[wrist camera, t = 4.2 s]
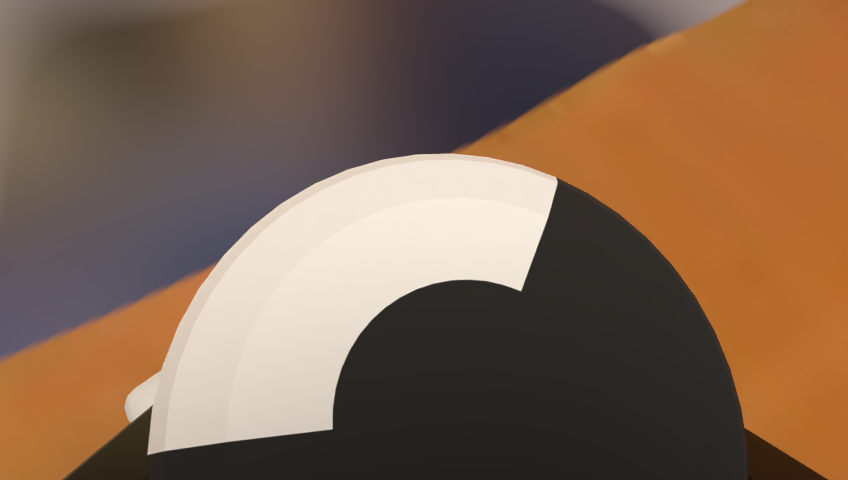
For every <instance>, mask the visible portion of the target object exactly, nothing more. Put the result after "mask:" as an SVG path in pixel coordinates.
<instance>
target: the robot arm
mask: <svg viewBox="0 0 848 480" xmlns="http://www.w3.org/2000/svg"><path fill="white" fill-rule="evenodd" d="M152 408H153V405H152V406H151V407H149V408H148V409H147V410H146V411H145V412H143V413H142V414H141V415H140V416H139V417H137V418H136V419H135V420H134V421H133V422H131V423H130V424H129V425H128V426H126V427H125V428H124V429H123V430H122V431H120V432H119V433H118V434H117V435H116V436H114V437H113V438H112V439H111V440H110V441H108V442H107V443H106V444H105V445H104V446H102V447H101V448H100V449H99V450H97V451H96V452H95V453H94V454H93V455H91V456H90V457H89V458H88V459H87V460H85V461H84V462H83V463H82V464H81V465H79V466H78V467H77V468H76V469H74V470H73V471H72V472H71V473H70V474H68V475H67V476H66V477H65V478H64V479H62V480H148V459H147V454H148V444H149V434H150V425H151V415H152ZM744 431H745V437H746V444H747V451H748V480H828V479H826V478H824V477H823V476H821V475H820V474H818V473H816V472H815V471H813V470H812V469H810V468H808V467H807V466H805V465H804V464H802V463H800V462H799V461H797V460H795V459H794V458H792V457H791V456H789V455H787V454H786V453H784V452H783V451H781V450H779V449H778V448H776V447H775V446H773V445H771V444H770V443H768V442H766V441H765V440H763V439H762V438H760V437H758V436H757V435H755V434H754V433H752V432H750V431H749V430H747V429H746V428H744Z"/></svg>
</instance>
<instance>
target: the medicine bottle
mask: <svg viewBox="0 0 848 480" xmlns="http://www.w3.org/2000/svg"><path fill="white" fill-rule="evenodd" d="M152 405H153V408H152V415H151V425H150V434H149V444H148V454H147V459H148V480H748V451H747V444H746V437H745V431H744V424H743V417H742V411H741V406H740V403H739V399H738V395H737V392H736V388H735V385H734V381H733V377H732V374H731V370H730V367H729V365H728V362H727V360H726V358H725V355H724V353H723V350H722V348H721V346H720V343H719V341H718V338H717V336H716V333H715V331H714V329H713V328H712V326H711V324H710V322H709V320H708V319H707V317H706V315H705V313H704V311H703V310H702V308H701V306H700V304H699V303H698V301H697V299H696V297H695V296H694V294H693V293H692V292H691V290H690V289H689V288H688V286H687V285H686V283H685V282H684V281H683V279H682V278H681V276H680V275H679V274H678V272H677V271H676V270H675V268H674V267H673V266H672V264H671V263H670V262H669V261H668V260H667V259H666V258H665V257H664V256H663V255H662V254H661V253H660V251H659V250H658V249H657V248H656V247H655V246H654V245H653V244H652V243H651V242H650V241H649V240H648V239H647V238H646V237H645V236H644V235H643V234H642V233H641V232H639V231H638V230H637V229H636V228H635V227H634V226H632V225H631V224H630V223H629V222H628V221H627V220H625V219H624V218H623V217H622V216H621V215H619V214H618V213H617V212H615V211H614V210H612V209H611V208H609V207H608V206H606V205H605V204H603V203H602V202H600V201H599V200H597V199H596V198H594V197H593V196H591V195H590V194H588V193H586V192H584V191H582V190H580V189H578V188H576V187H574V186H572V185H570V184H568V183H566V182H564V181H562V180H560V179H558V178H556V177H554V176H551V175H548V174H545V173H543V172H540V171H537V170H534V169H532V168H529V167H526V166H523V165H519V164H515V163H511V162H506V161H502V160H498V159H493V158H489V157H480V156H470V155H460V154H427V155H426V154H423V155H412V156H405V157H398V158H392V159H385V160H380V161H377V162H374V163H370V164H366V165H363V166H359V167H356V168H352V169H349V170H346V171H344V172H341V173H339V174H337V175H334V176H332V177H330V178H328V179H325V180H323V181H320V182H318V183H316V184H313V185H312V186H310V187H308V188H307V189H305V190H303V191H302V192H300V193H298V194H297V195H295V196H293V197H292V198H290V199H288V200H287V201H285V202H283V203H282V204H281V205H279V206H278V207H277V208H275V209H274V210H273V211H271V212H270V213H269V214H268V215H266V216H265V217H264V218H262V219H261V220H260V221H259V222H257V223H256V224H255V225H254V226H252V227H251V228H250V229H249V230H248V231H247V232H246V233H245V234H244V235H243V236H242V237H241V239H239V240H238V241H237V242H236V243H235V244H234V245H233V247H232V248H231V249H230V250H229V251H228V252H227V253H226V254H225V255H224V256H223V257H222V258H221V260H220V261H219V262H218V264H217V265H216V266H215V268H214V269H213V271H212V272H211V273H210V275H209V276H208V277H207V279H206V280H205V281H204V283H203V284H202V285H201V287H200V288H199V290H198V291H197V293H196V295H195V297H194V299H193V300H192V302H191V304H190V306H189V308H188V309H187V311H186V313H185V315H184V317H183V318H182V320H181V322H180V324H179V326H178V328H177V331H176V333H175V336H174V338H173V341H172V343H171V346H170V349H169V351H168V354H167V356H166V359H165V361H164V364H163V367H162V370H161V371H159V372H158V373H156V374H155V375H153V376H152V377H150V378H149V379H148V380H146V381H145V382H143V383H142V384H140V385H139V386H137V387H136V388H135V389H134V390H133V391H132V392H131V393H130V394H129V395H128V396H127V399H126V403H125V406H124V408H125V411H126V415H127V418H128V420H129V422H130V423H131V422H133V421H134V420H135V419H136V418H137V417H139V416H140V415H141V414H142V413H143V412H145V411H146V410H147V409H148V408H149V407H151V406H152Z"/></svg>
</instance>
